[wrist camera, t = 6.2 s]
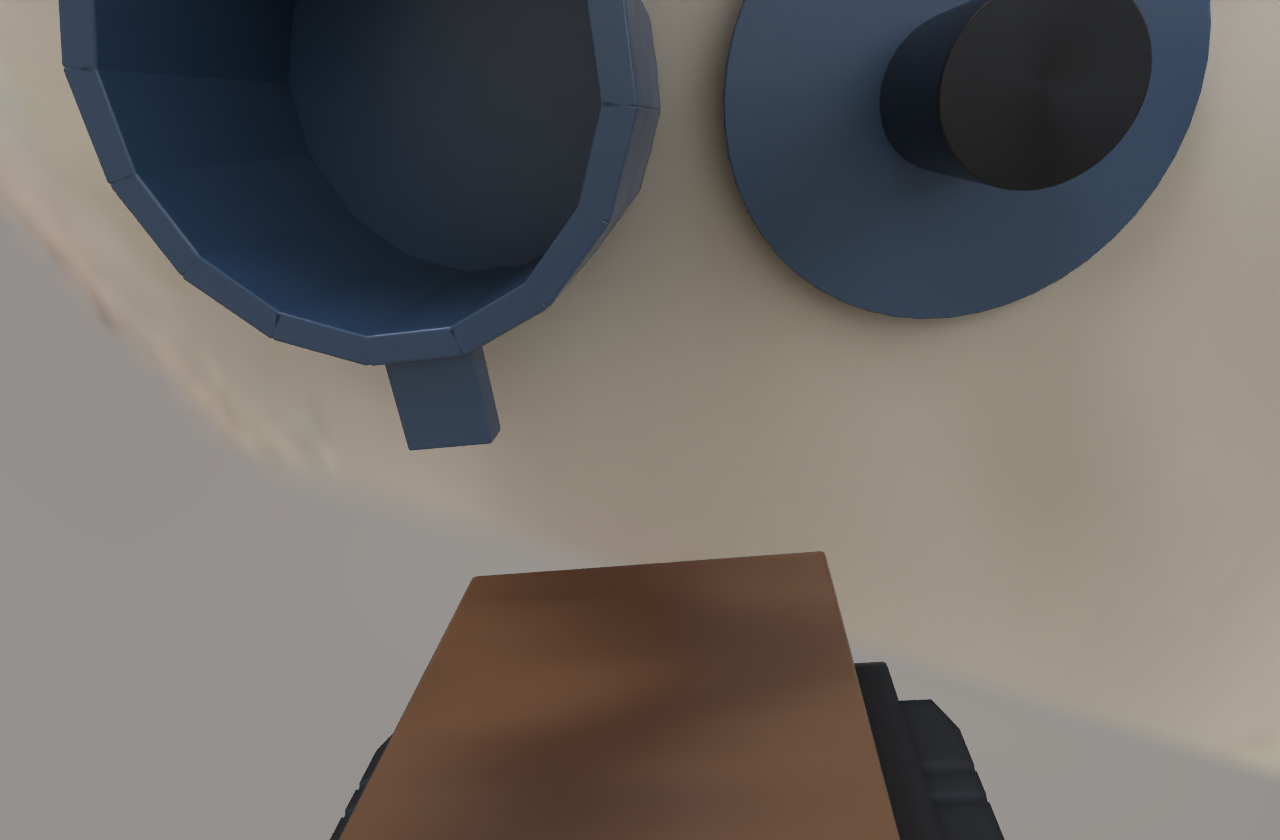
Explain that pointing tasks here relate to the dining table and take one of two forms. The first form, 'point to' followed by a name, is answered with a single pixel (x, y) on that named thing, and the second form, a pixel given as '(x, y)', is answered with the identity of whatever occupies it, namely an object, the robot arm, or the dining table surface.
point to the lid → (954, 138)
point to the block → (637, 712)
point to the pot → (374, 166)
